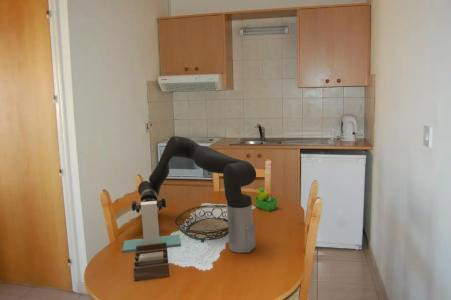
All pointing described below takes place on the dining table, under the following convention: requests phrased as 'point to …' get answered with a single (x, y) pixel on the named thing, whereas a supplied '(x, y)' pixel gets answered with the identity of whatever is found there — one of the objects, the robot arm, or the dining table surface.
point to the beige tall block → (150, 222)
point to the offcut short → (151, 253)
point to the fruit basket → (265, 200)
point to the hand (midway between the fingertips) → (149, 209)
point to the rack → (151, 270)
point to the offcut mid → (151, 255)
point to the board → (131, 244)
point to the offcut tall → (150, 261)
